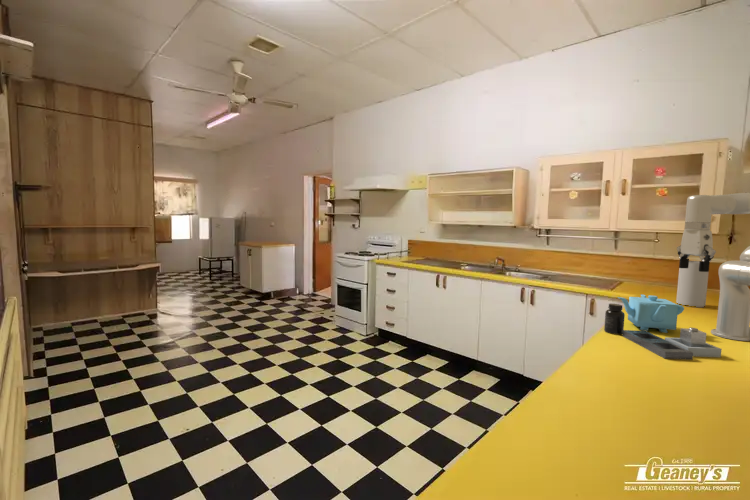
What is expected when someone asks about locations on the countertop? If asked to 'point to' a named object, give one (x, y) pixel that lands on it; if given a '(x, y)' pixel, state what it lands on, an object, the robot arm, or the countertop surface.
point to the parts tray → (698, 348)
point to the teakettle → (652, 312)
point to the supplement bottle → (614, 319)
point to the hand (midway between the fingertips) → (693, 269)
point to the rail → (657, 345)
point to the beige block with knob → (692, 337)
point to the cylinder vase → (692, 285)
